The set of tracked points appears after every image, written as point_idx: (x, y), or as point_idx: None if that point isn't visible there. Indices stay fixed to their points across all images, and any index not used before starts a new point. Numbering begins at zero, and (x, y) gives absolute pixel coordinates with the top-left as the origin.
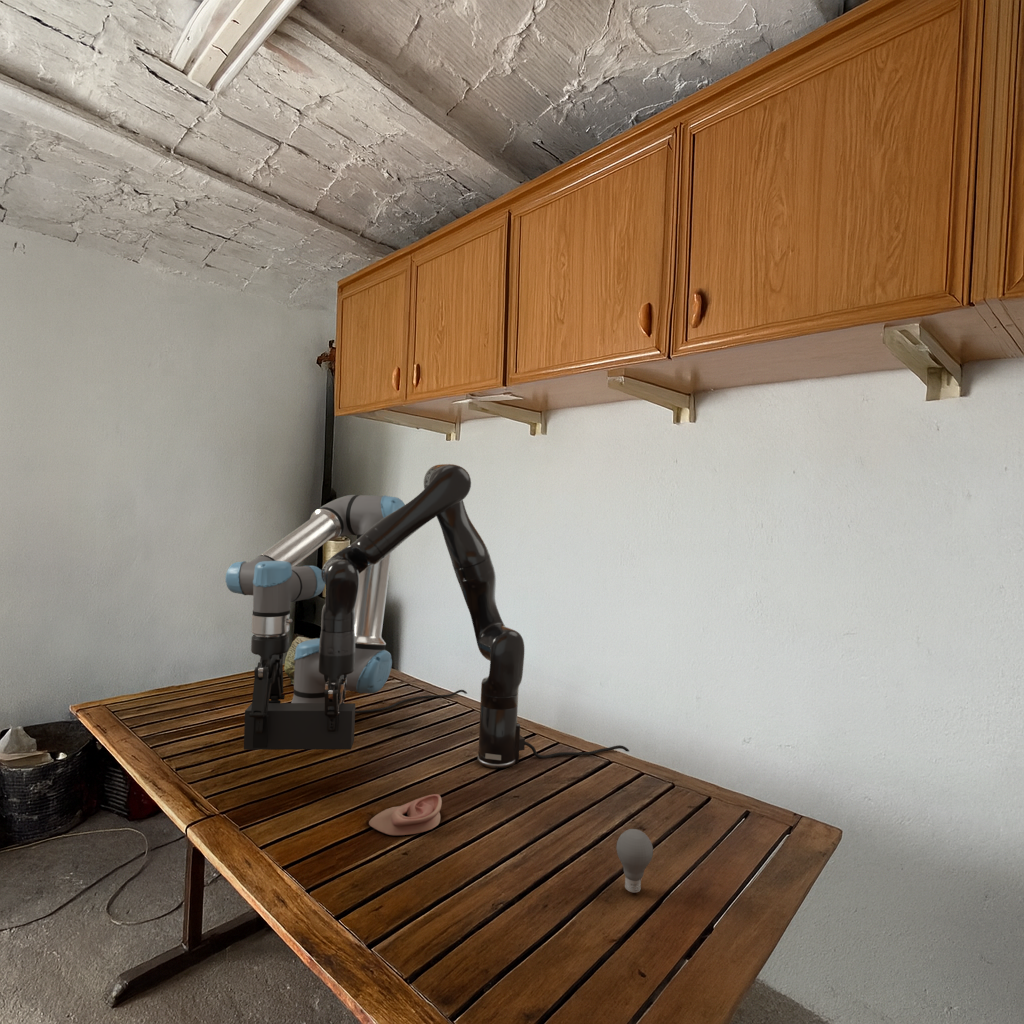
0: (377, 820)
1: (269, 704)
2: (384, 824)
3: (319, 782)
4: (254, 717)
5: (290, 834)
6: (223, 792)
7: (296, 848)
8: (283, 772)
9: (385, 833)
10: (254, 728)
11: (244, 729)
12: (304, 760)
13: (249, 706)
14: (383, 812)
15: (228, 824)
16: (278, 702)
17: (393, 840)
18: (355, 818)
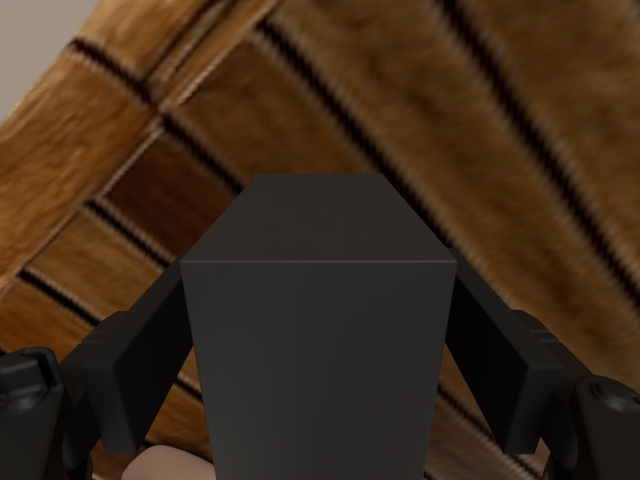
0: (148, 467)
1: (387, 423)
2: (137, 476)
3: None
4: (82, 363)
5: (92, 318)
6: (301, 76)
7: (41, 339)
8: (437, 227)
9: (125, 470)
10: (137, 308)
11: (233, 202)
12: (518, 268)
13: (324, 269)
14: (176, 476)
15: (105, 162)
16: (500, 439)
17: (113, 477)
18: (183, 419)
